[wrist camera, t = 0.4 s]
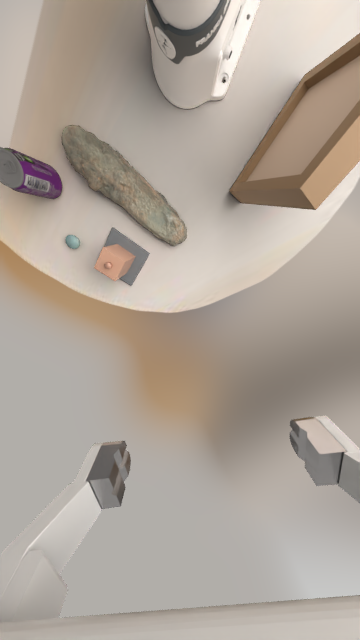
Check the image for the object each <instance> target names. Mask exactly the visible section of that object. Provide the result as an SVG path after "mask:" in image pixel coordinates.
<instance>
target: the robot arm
mask: <svg viewBox="0 0 360 640" xmlns="http://www.w3.org/2000/svg"><path fill="white" fill-rule="evenodd" d="M260 2H261V0H146V4H145V17H146V23H147V27H148V31H149V34H150V37H151V50H152V64H153V70H154V74H155V78H156V81H157V83H158V86H159V88H160V90H161V91H162V93H163V94H164V96H165V97H166V98H167V99H168V100H169V101H170V102H171V103H172V104H173V105H175V106H177V107H179V108H183V109H191V108H195V107H198V106H200V105H201V104H203V103H205V102H206V101H209V100H221V99H223V98H224V97H225V95H226V93H227V90H228V87H229V85H230V82H231V79H232V77H233V74H234V71H235V69H236V66H237V63H238V61H239V58H240V55H241V53H242V50H243V48H244V45H245V42H246V40H247V37H248V34H249V32H250V29H251V26H252V24H253V21H254V18H255V16H256V13H257V10H258V8H259V5H260ZM223 79H225V81H226V82H225V83H222V80H223ZM290 426H291V428H292V431H291V432H290V441H291V444H292V447H293V449H294V451H295V452H296V454H297V455H298V457H299V458H301V459H302V460H304V461H305V468H306V470H307V472H308V473H309V474H310V476H311V478H312V480H313V481H314V483H315V484H316V486H320V485H335V484H339V485H338V486H340V487H341V488H342V489H343V490H344V491H345V492H347V493H348V494H349V495H351V497H353V498H354V499H355V500H357V501H358V502H359V503H360V449H359V448H358V447H357V446H356V445H355V444H354V443H353V442H352V441H351V440H350V439H349V438H348V437H347V436H346V435H345V434H344V433H343V432H342V431H341V430H340V429H339V428H338V427H337V426H336V425H335V424H334V423H333V422H332V421H331V420H330V419H329V418H328V417H327V416H316V417H306V418H300V419H293V420H291V421H290ZM126 446H127V445H126V443H125V441H115V442H105V443H95V444H93V445H92V447H91V448H90V450H89V452H88V454H87V456H86V458H85V460H84V462H83V464H82V466H81V468H80V470H79V472H78V474H77V476H76V478H75V480H74V482H73V483H70V484H69V485H68V486H67V487H66V488H65V489H64V490H63V491H62V492H61V493H60V494H59V495H58V496H57V497H56V498H55V499H54V500H53V501H52V502H51V503H50V504H49V505H48V506H47V507H46V508H45V509H44V510H43V511H42V512H41V513H40V514H39V515H38V516H37V517H36V519H34V521H32V522H31V523H30V524H29V525H28V526H27V527H26V528H25V529H24V530H23V532H21V534H20V535H18V537H17V538H15V539H14V540H13V542H12V543H11V544H10V545H9V546H8V547H7V548H6V549H5V550H4V551H3V552H2V553H1V555H0V640H360V595H356V596H344V597H343V596H342V597H328V598H315V599H303V600H289V601H277V602H262V603H249V604H236V605H223V606H209V607H197V608H183V609H171V610H157V611H143V612H132V613H131V612H130V613H118V614H104V615H90V616H77V617H64V618H59V615H60V612H61V609H62V606H63V603H64V600H65V597H66V594H67V591H68V589H67V584H66V583H65V582H64V580H63V579H62V577H61V576H60V573H61V571H62V570H63V568H64V567H65V565H66V564H67V562H68V561H69V559H70V558H71V556H72V555H73V553H74V552H75V550H76V549H77V547H78V546H79V544H80V543H81V541H82V540H83V538H84V537H85V535H86V534H87V532H88V531H89V529H90V528H91V526H92V524H93V523H94V521H95V520H96V518H97V517H98V516H99V514H100V512H101V511H102V510H101V509H105V508H112V507H119V506H121V503H122V499H123V495H124V491H125V484H124V481H125V479H126V478H127V477H128V475H129V471H130V462H131V460H130V454H129V452H128V451H127V450H125V449H126Z"/></svg>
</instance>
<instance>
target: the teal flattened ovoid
mask: <svg viewBox="0 0 360 640" xmlns="http://www.w3.org/2000/svg"><path fill="white" fill-rule="evenodd" d="M66 243H67V245H68V246H69V247H70V248H73V249H75V248H78V247H79V245H80V240H79V239H78V238H77V237H76V236H74V235H68V236H67V237H66Z"/></svg>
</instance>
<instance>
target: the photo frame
mask: <svg viewBox="0 0 360 640" xmlns="http://www.w3.org/2000/svg"><path fill="white" fill-rule="evenodd" d="M359 161H360V33H359V34H358V35H357V36H355V37H354V38H353V39H351V40H350V41H349V42H348V43H346V44H345V45H344V46H342V47H341V48H340V49H338V50H337V51H336V52H334V53H333V54H332V55H330V56H329V57H328V58H326V59H325V60H324V61H322V62H321V63H320V64H319V65H317V66H316V67H315V68H313V69H312V70H311V71H309V72H308V73H307V74H305V75H304V77H303V78H302V80H301V81H300V83H299V85H298V86H297V88H296V89H295V91H294V92H293V94H292V95H291V97H290V98H289V100H288V101H287V103H286V105H285V106H284V108H283V109H282V111H281V112H280V114H279V115H278V117H277V118H276V120H275V121H274V123H273V124H272V126H271V128H270V129H269V131H268V132H267V134H266V135H265V137H264V138H263V140H262V141H261V143H260V144H259V146H258V148H257V149H256V151H255V152H254V154H253V155H252V157H251V158H250V160H249V161H248V163H247V164H246V166H245V168H244V169H243V171H242V172H241V174H240V175H239V177H238V178H237V180H236V181H235V183H234V184H233V186H232V187H231V189H230V191H229V192H230V193H231V194H232V195H233V196H234V197H235V198H236V199H237V200H238V201H239V202H240V203H246V204H257V205H268V206H280V207H291V208H302V209H313V210H316V209H317V208H318V207H319V206H320V204H321V203H322V202H323V201H324V200H325V199H326V198H327V197H328V196H329V194H330V193H331V192H332V191H333V190H334V189H335V188H336V187H337V185H338V184H339V183H340V182H341V181H342V180H343V179H344V178H345V177H346V175H347V174H348V173H349V172H350V171H351V170H352V169H353V168H354V167H355V165H356V164H357V163H358V162H359Z"/></svg>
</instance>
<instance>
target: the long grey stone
mask: <svg viewBox="0 0 360 640" xmlns="http://www.w3.org/2000/svg"><path fill="white" fill-rule="evenodd" d="M62 145H63V146H64V149H65V151H66V154H67V159H68V160H69V161H70V163H71V165H72V166H73V168H74V169H75V170H76V172H78V173H79V174H81V175H83V177H84V178H85V179H87V181H88V183H89V187H90V188H91V189H93V190H94V191H98V190H99V191H100V192H101V193H102V194H103V195H104V196H105V197H107V198H109V199H111V200H112V201H113V202H115V203H117V204H118V205H120V206H121V207H123V208H124V209H125V210H126V211H127V212H128V213H129V214H130V215H131V216H132V217H133V218H134V219H136V220H137V221H138V223H140V224H141V225H142V226H143V227H144V228H146V229H147V230H149V231H151V232H152V233H153V234H154V235H155V236H156V237H157V238H160V239H162V240H164V241H165V242H167V243H169V244H170V245H172V246H176V244H179V243H182V242H183V241H185V239H186V237H187V234H186V233H187V229H186V227H185V224H184V222H183V221H182V220H181V219H180V218H179V216H178V214H177V212H176V211H175V210H174V209H173V208H172V207H171V206H170V205H169V204H168V203H167V201H166V199H165V197H164V196H163V195H161V194H160V193H158V192H157V191H155V190H154V189H153V188H152V186H151V185H150V184H149V183H148V182H147V181H146V180H145V179H144V178H143V177H142V176H141V175H140V174H139V173H138V172H137V171H136V170H134V168H133V166H132V167H131V166H130V164H129V163H128V161H126V160H125V159H124V158H123V157H122V156H121V155H120V154H119V153H118V152H117V151H115V150H113V149H112V148H111V147H110V146H109V144H106V143H105V142H102V141H101V140H99V139H97V137H96V136H95V135H94V134H92V133H90V132H87V131H85V130H84V129H83V128H81V127H80V126H75V125H70V126H67V127H65V129H64V130H63V133H62Z"/></svg>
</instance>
